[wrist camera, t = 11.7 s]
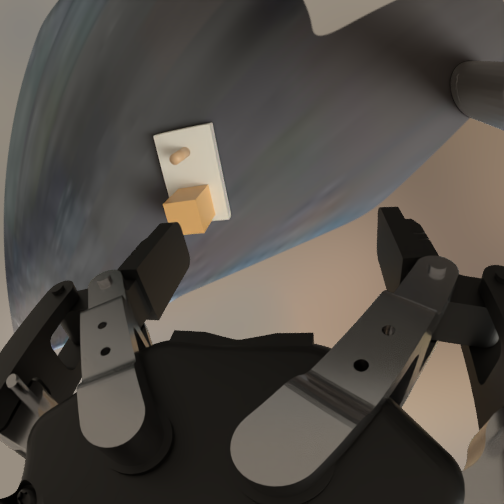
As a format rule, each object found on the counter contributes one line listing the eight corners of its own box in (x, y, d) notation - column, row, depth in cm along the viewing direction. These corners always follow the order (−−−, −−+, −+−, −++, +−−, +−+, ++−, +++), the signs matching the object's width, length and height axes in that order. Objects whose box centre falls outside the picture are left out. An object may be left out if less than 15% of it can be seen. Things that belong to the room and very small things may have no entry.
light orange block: (208, 184, 45) (195, 199, 40) (215, 214, 47) (204, 232, 42) (178, 188, 46) (162, 204, 41) (186, 217, 48) (172, 235, 43)
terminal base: (212, 122, 41) (200, 128, 36) (231, 215, 48) (222, 231, 44) (157, 133, 43) (140, 141, 38) (179, 220, 50) (167, 236, 46)
